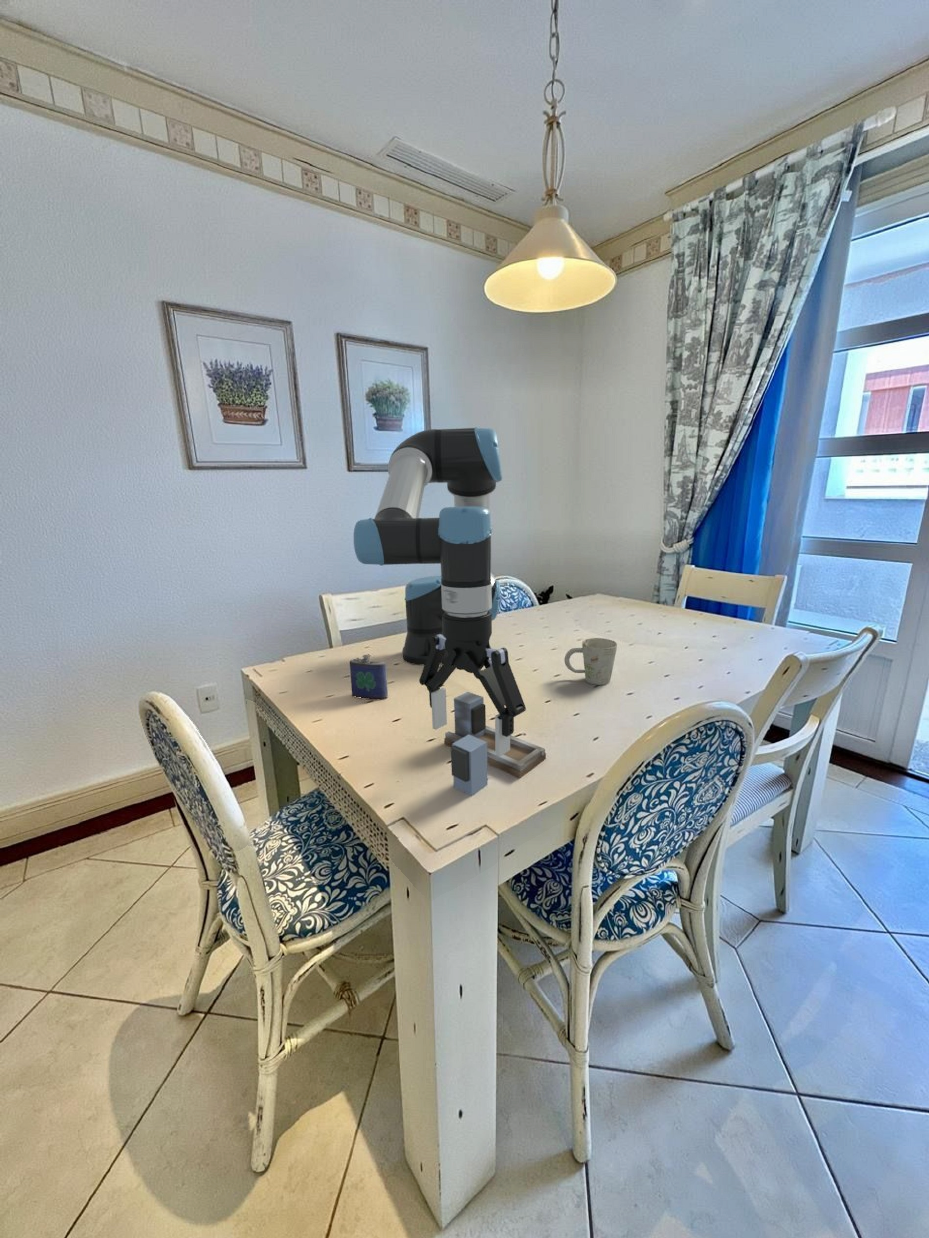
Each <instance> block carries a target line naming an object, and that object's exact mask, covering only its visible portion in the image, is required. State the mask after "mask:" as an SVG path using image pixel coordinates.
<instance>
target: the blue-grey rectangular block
mask: <svg viewBox="0 0 929 1238" xmlns="http://www.w3.org/2000/svg"><path fill="white" fill-rule="evenodd" d="M450 761H451V763H450V764H451V765H450V766H451V776H453V788H455V789H457V790H460V791H461V792H462V793H464V794H467V795H469V796H471V797H473V796H475V794H477V793H478V792H480V791H481V790H483V789H484V788H486V787H487V786H488V764H487V742H485V741H483V740H481V739H478V738H476V737H474V736H471V735H467V736H465V737H463V738H462V739H460V740H458V741H456V742H455V743H453V744H452V747H450Z"/></svg>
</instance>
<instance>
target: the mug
mask: <svg viewBox="0 0 929 1238" xmlns="http://www.w3.org/2000/svg"><path fill="white" fill-rule="evenodd" d="M581 646H582V647H574V648H573V647H572V648H571V649H569V650H567V652H566V654H565V656H564V664H565V666H566V668H567V669H568V670H569V671H571V673H575V674H584V677H585V681H586V682H587V683H588V684H591V685H596V686H604V685H608V684H610V682H611V678H612V675H613V669H614V663H615V659H616V654H617V650H618V649H617V648H618V643H617V642H616V641H615V640H612V639H609V638H603V637H602V638H601V637H591V638H586V639H584V640H583V641H582V642H581ZM575 653H579V654H581V653H582V658H583V666H584V667H583V669H576V668H575V667H573V666H572V664H571V663H570V662H571V661H570V658H571V656H572V655H573V654H575Z"/></svg>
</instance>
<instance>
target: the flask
mask: <svg viewBox="0 0 929 1238" xmlns="http://www.w3.org/2000/svg"><path fill="white" fill-rule="evenodd" d="M362 657H363V658H359V657H357V658H354V659H350V661H349V670H350V673H349V674H350V683H351V684H350V685H351V688H350V689H351V696H352V697H353V696H356V697H361V698H360V699H362V698H369V699H368V700H377V699H380V700H386V699H388V697H389V693H388V680H387V665H386V662H385V661H383V660H381V661H378V660H370V657H371V654H369V653H367V654H363V655H362ZM356 697H355V698H356Z"/></svg>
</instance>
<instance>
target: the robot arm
mask: <svg viewBox="0 0 929 1238" xmlns="http://www.w3.org/2000/svg"><path fill="white" fill-rule="evenodd" d="M387 465H388V466H387V471H388V478H387V480H386V484H385V487H384V490H383V493H382V494H381V495H382V496H381V498H380V502H379V505H378V508H377V511H376V514H375V517H374V518H373V517H370V518H367V519H360V520H358V521H357V522H356V523H355V525H354V530H353V549H354V552H355V556H356V559H357V560H358V562H359V563H361V564H363V565H376V566H377V565H379V566H386V565H387V566H388V565H392V566H393V565H417V564H418V565H421V564H423V565H425V564H427V565H428V564H430V565H431V564H433V565H434V564H440V575H429V576H425V577H420V578H417V579H414V580H413V579H412V580H411V581H409V582H408V583H407V584H406V585H405V588H404V590H405V591H404V592H405V593H404V596H405V597H404V601H405V613H406V614H405V615H406V637H405V641H404V646H403V647H402V651H401V652H402V655H401V656H402V660H403V661H405V662H406V663H408V664H411V665H416V666H423V669H422V672H421V674H420V678H419V680H418V682H419V685H421V686H425V687H426V689H427V691H428V694H429V695H428V696H429V698H428V699H429V707H430V708H431V718H432V719H431V721H432V722H431V723H432V725H431V726H432V729H433V730H435V731H436V730H438V729H441V728H443V727H444V726H446V725H447V724H448V719H447V718H448V716H447V715H448V713H447V712H448V711H447V690H446V688H444V687H445V682H446V681H447V680H448V679H449V678H450V677H451V676H452V674H453V672H454V671H455V670H459V671H462V670H463V671H465V672H466V673H469V674H473V675H474V678H475V679H477V680H479V681H480V683H481V684H482V686H483V688H484V690H485V692H486V694H487V695H488V696H489V699H490V700H491V702H492V704H493V705H494V707H495V709H496V710H497V713H498V714H496V715H495V716H494V725H495V726H494V729H495V755H496V756H498V757H500V756H502V755H503V754H505V753H506V752H508V751H509V750H510V735H511V736H512V735H513V734H514V732H515V717H517V716H519V715H521V714H523V713H524V712H526V709H527V708H526V705H525V702H524V699H523V697H522V694H521V691H520V689H519V686H518V683H517V681H516V678H515V676H514V673H513V671H512V668H511V665H510V662H509V652H508V649H507V648H506V647H501V648H499V649H497V648H492V647H491V645H490V639H491V636H492V634H493V624H492V623H493V621H494V620H496V618H497V616H498V612H499V608H500V597H501V583H500V581H499V580H496V577H495V575H494V574H493V573H492V531H493V528H492V523H491V512H490V511H491V510H490V506H491V505H490V502H491V501H490V495H491V494H492V493H494V492H495V491H496V489H497V483H499V482H501V481H503V474H502V464H501V456H500V448H499V441H498V434H497V432H496V431H495V430H494V429H493V428H485V427H484V428H481V427H470V428H467V427H466V428H465V427H464V428H443V429H436V428H434V429H432V428H431V429H426V430H425V429H424V430H422V431H419V432H416V433H415V434H412V435H411V436H409V437H407V438H406V439H404V440H403V441H402V442H400V443H399V445H398V446H396V448H395V449H394V450H393V452H392V453H391V455H390V457H389V461H388V463H387ZM432 483H433V484H434V483H435V484H436V483H438V484H440V483H441V484H445V483H446V487H447V492H448V493H450V494H451V495H452V496H453V500H454V501H453V503H454V506H450V507H443V508H441V509H440V510H439V514H438V517H424V518H423V517H420V512H421V507H422V502H423V497H424V492H425V487H426V486H427V485H428V484H432ZM441 664H442V665H441ZM483 668H484V669H483Z"/></svg>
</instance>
